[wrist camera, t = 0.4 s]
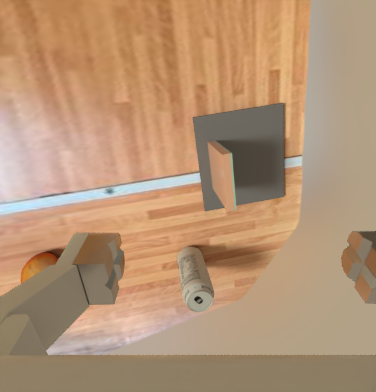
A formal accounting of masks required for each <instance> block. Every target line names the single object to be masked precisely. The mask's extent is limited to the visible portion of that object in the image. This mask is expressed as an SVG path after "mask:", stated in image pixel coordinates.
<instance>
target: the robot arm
mask: <svg viewBox="0 0 376 392" xmlns="http://www.w3.org/2000/svg"><path fill="white" fill-rule="evenodd" d="M347 241H348V243H349V246H348V247H347V248H346V249H345V250H344V251H343V255H342V257H341V260H342V267H343V270H344V272H345V273H346V275H347V276H348V277H349V278H350V279H352V280H353V281H355V289H356V290H357V291H358V293H359V294H360V296H361V297H362V299H363V300H364V302H365V303H374V304H376V231H353V232H352V233H351V234H350V235H349V237H348V240H347ZM121 243H122V241H121V236H120V234H119V233H76V234H74V235H73V237H72V238H71V240H70V241H69V243H68V245H67V246H66V248H65V250H64V251H63V253H62V254H61V256H60V258H59V259H58V261H57V263H56V264H55V265H50V266H48V267H47V268H45V269H44V270H42V271H40V272H39V273H37V274H36V275H34V276H33V277H31V278H29V279H28V280H26V281H25V282H23V283H21V284H20V285H18V286H17V287H15V288H14V289H12V290H10V291H9V292H7V293H6V294H4V295H2V296H1V297H0V392H376V355H48V354H47V352H46V350H47V349H48V348H49V347H50V346H51V345H52V344H53V343H54V342H55V341H56V340H57V339H58V338H59V337H60V336H61V335H62V334H63V333H64V332H65V331H66V330H67V329H68V328H69V327H70V326H71V325H72V323H73V322H74V321H75V320H76V319H77V318H78V317H79V316H80V315H81V314H82V313H83V312H84V311H85V310H86V309H87V308H88V307H89V305H104V304H114V303H115V300H116V297H117V293H118V290H119V285H118V281H119V280H120V279H121V278H122V276H123V272H124V265H125V259H124V252H123V251H122V250H121V249H120V246H121Z"/></svg>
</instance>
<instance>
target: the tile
mask: <svg viewBox="0 0 376 392" xmlns="http://www.w3.org/2000/svg"><path fill="white" fill-rule="evenodd" d="M207 143H208V151H209V160H210V169H211V178H212V187H213V190H214V191H215V193H216V194H217V196H218V198H219V199H220V201H221V202H222V204H223V205H224V207H225V209H226V210H227V212H229V211H234V210H237V209H236V197H235V184H234V172H233V159H232V153H231V152H230V151H229V150H227V149H226V148H225V147H223V146H222V145H221V144H219V143H218V142H217V141H209V142H207Z"/></svg>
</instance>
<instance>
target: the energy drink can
mask: <svg viewBox="0 0 376 392" xmlns="http://www.w3.org/2000/svg"><path fill="white" fill-rule="evenodd" d="M177 261H178V268H179V275H180V281H181V288H182V295H183V300H184V302H185V303H186V304H187V306H188V308H189V309H190V310H192V311H194V312H203V311H205V310H207V309H209V308H210V307H211V305H212V303H213V297H214V290H213V287H212V283H211V280H210V277H209V274H208V271H207V267H206V264H205V261H204V258H203V254H202V252H201V251H200V250H199V249H198V248H195V247H186V248H184V249H183V250H181V251H180V252H179V254H178V257H177Z"/></svg>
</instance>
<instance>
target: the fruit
mask: <svg viewBox="0 0 376 392" xmlns="http://www.w3.org/2000/svg"><path fill="white" fill-rule="evenodd" d="M57 261H58V258H57V257H56V256H55V255H54V254H52V253H46V252H43V253H40V254H38V255H36V256H34V257H32V258H31V259H30V260H29V261H28V262H27V263H26V264H25V266H24V268H23V270H22V273H21V283H23V282H25V281H26V280H28V279H29V278H31V277H33V276H34V275H36V274H37V273H39V272H40V271H42V270H44V269H45V268H47V267H48V266H50V265H55V264H56V263H57Z"/></svg>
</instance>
